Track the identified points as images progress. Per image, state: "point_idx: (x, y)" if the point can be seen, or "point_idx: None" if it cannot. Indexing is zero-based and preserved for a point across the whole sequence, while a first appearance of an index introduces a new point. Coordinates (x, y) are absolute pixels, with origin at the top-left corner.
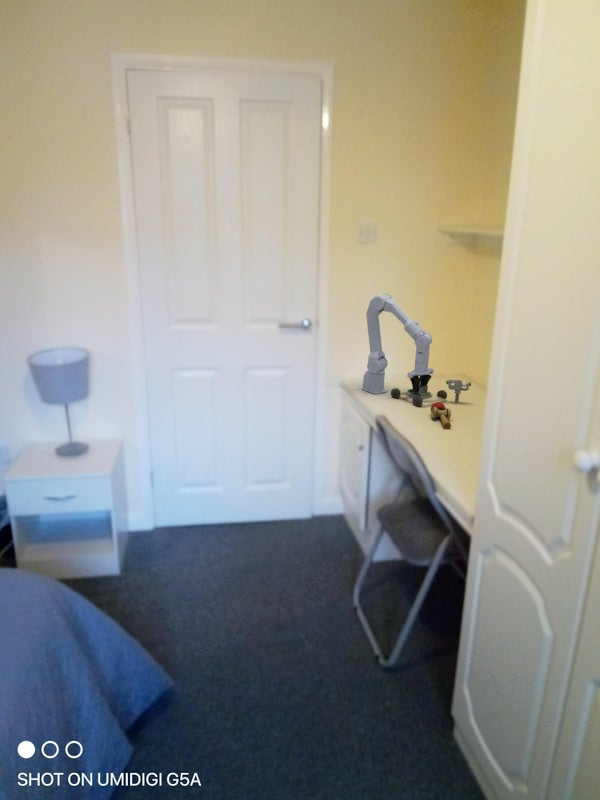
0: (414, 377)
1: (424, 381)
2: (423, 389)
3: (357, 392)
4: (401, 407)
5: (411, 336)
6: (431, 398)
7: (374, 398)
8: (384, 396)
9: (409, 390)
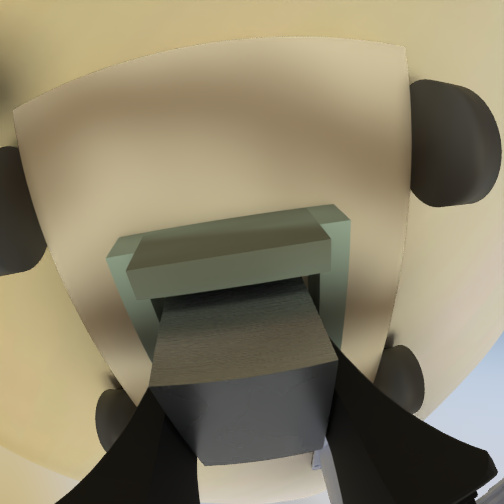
0: (474, 499)
1: (171, 477)
2: (265, 330)
3: None
4: (500, 180)
5: None
6: (142, 205)
7: (452, 364)
8: None
9: None
